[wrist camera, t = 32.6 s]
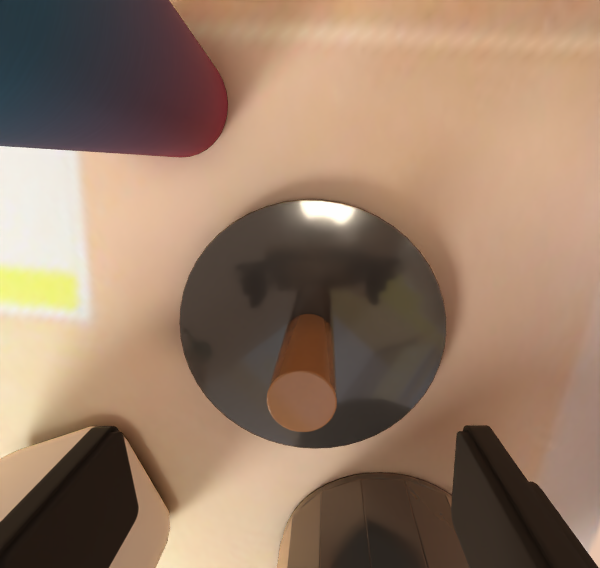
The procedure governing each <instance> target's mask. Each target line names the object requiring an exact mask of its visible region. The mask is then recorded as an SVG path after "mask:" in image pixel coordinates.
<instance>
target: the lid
mask: <svg viewBox="0 0 600 568" xmlns="http://www.w3.org/2000/svg"><path fill="white" fill-rule="evenodd" d="M180 333H181V341H182V346H183V350H184V355H185V357H186V360H187V363H188V366H189V368H190V370H191V372H192V374H193V376H194V378H195V380H196V382H197V384H198V385H199V387H200V388H201V390H202V391H203V393H204V394H205V395H206V397H207V398H208V399H209V400H210V401H211V402H212V403H213V405H214V406H215V407H216V408H217V409H218V410H219V411H221V412H222V413H223V414H224V415H225V416H226V417H227V418H229V419H230V420H231V421H233V422H234V423H236V424H237V425H238V426H240V427H242V428H243V429H245V430H247V431H249V432H251V433H252V434H254V435H257V436H259V437H262V438H264V439H266V440H269V441H272V442H276V443H279V444H283V445H288V446H294V447H300V448H332V447H338V446H344V445H349V444H352V443H356V442H359V441H362V440H365V439H367V438H370V437H372V436H375V435H377V434H379V433H380V432H382V431H384V430H386V429H388V428H389V427H391V426H392V425H394V424H395V423H396V422H398V421H399V420H400V419H402V418H403V417H404V416H405V415H406V414H407V413H408V412H410V411H411V410H412V409H413V408H414V407H415V406H416V404H417V403H418V402H419V401H420V399H421V398H422V397H423V396H424V395H425V393H426V391H427V390H428V388H429V386H430V385H431V383H432V382H433V380H434V377H435V375H436V373H437V370H438V368H439V366H440V362H441V359H442V355H443V352H444V346H445V338H446V314H445V308H444V301H443V297H442V294H441V291H440V288H439V285H438V282H437V280H436V278H435V276H434V274H433V272H432V270H431V268H430V266H429V264H428V263H427V261H426V260H425V259H424V257H423V256H422V254H421V253H420V251H419V250H418V249H417V248H416V247H415V246H414V245H413V244H412V242H411V241H410V240H409V239H408V238H407V237H406V236H404V235H403V234H402V233H401V232H400V231H398V230H397V229H396V228H395V227H394V226H392V225H390V224H389V223H387V222H386V221H384V220H382V219H381V218H379V217H378V216H376V215H374V214H371V213H369V212H367V211H365V210H362V209H360V208H357V207H354V206H351V205H347V204H344V203H340V202H333V201H327V200H305V199H303V200H295V201H286V202H282V203H278V204H274V205H270V206H266V207H264V208H261V209H259V210H256V211H254V212H252V213H249V214H247V215H245V216H244V217H242V218H240V219H239V220H237V221H235V222H233V223H232V224H231V225H229V226H228V227H227V228H226V229H224V230H223V231H222V232H221V233H219V234H218V235H217V236H216V237H215V238H214V239H213V241H212V242H211V243H210V244H209V245H208V246H207V247H206V248H205V250H204V251H203V252H202V254H201V255H200V257H199V258H198V259H197V261H196V263H195V265H194V267H193V269H192V271H191V273H190V275H189V277H188V280H187V283H186V286H185V288H184V292H183V297H182V302H181V307H180Z"/></svg>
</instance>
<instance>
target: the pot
mask: <svg viewBox="0 0 600 568" xmlns="http://www.w3.org/2000/svg"><path fill="white" fill-rule="evenodd" d="M451 504H452V495H450V494H449V493H448V492H446V491H444V490H443V489H441V488H439V487H437V486H435V485H433V484H431V483H428V482H426V481H424V480H421V479H417V478H414V477H410V476H406V475H400V474H393V473H365V474H359V475H353V476H349V477H345V478H341V479H338V480H336V481H333V482H331V483H328V484H326V485H324V486H323V487H321V488H319V489H317V490H316V491H314V492H313V493H312V494H310V495H309V496H307V497H306V498H305V499H304V500H303V501H302V502H301V503H300V504H299V505H298V507H297V508H296V509H295V510H294V512H293V513H292V515H291V517H290V518H289V520H288V522H287V525H286V527H285V530H284V534H283V538H282V541H281V543H280V549H279V556H278V564H277V568H469V565H468V563H467V560H466V557H465V555H464V552H463V550H462V547H461V544H460V542H459V539H458V537H457V534H456V531H455V529H454V526H453V522H452V517H451Z"/></svg>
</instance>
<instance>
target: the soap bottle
mask: <svg viewBox="0 0 600 568" xmlns="http://www.w3.org/2000/svg"><path fill="white" fill-rule="evenodd" d="M93 427H96V426H91V427H88V428H84V429H81V430H78V431H75V432H72V433H69V434H66V435H63V436H60V437H57V438H54V439H51V440H47V441H44V442H41V443H38V444H35V445H32V446H29V447H26V448H23V449H20V450H17V451H15V452H13V453H11V454H9V455H7V456H5V457H3V458H1V459H0V522H1V521H2V520H3V519H4V518H5V517H6V516H7V515H8V513H9V512H10V511H11V510H12V509H13V508H14V507H15V506H16V505H17V504H18V503H19V502H20V501H21V500H22V499H23V498H24V497H25V496H26V495H27V494H28V493H29V492H30V491H31V490H32V489H33V488H34V487H35V486H36V485H37V484H38V483H39V482H40V481H41V480H42V478H43V477H44V476H45V475H46V474H47V473H48V472H49V471H50V470H51V469H52V468H53V467H54V466H55V465H56V464H57V463H58V462H59V461H60V460H61V459H62V458H63V457H64V456H65V455H66V454H67V453H68V452H69V451H70V450H71V449H72V448H73V447H74V446H75V445H76V444H77V442H78V441H79V440H80V439H81V438H82V437H83V436H84V435H85V434H86V433H87V432H88V431H89V430H90V429H91V428H93ZM124 440H125V445H126V450H127V454H128V459H129V463H130V468H131V473H132V477H133V482H134V487H135V491H136V496H137V501H138V506H139V510H138V515H137V519H136V521H135V523H134V524H133V526H132V528H131V530H130V532H129V533H128V535H127V537H126V539H125V540H124V542H123V544H122V546H121V547H120V549H119V551H118V553H117V554H116V556H115V558H114V560H113V562H112V563H111V565H110V567H109V568H156V566H157V564H158V561H159V559H160V557H161V555H162V552H163V550H164V548H165V546H166V544H167V541H168V536H169V531H170V520H169V511H168V509H167V507H166V506H165V504H164V502H163V501H162V499H161V497H160V496H159V494H158V492H157V490H156V489H155V487H154V485H153V484H152V482H151V480H150V478H149V477H148V475H147V473H146V472H145V470H144V468H143V466H142V465H141V463H140V461H139V460H138V458H137V456H136V455H135V453H134V451H133V449H132V448H131V446H130V444H129V443H128V441H127V440H126V438H125V437H124Z"/></svg>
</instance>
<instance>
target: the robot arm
mask: <svg viewBox="0 0 600 568" xmlns="http://www.w3.org/2000/svg"><path fill="white" fill-rule="evenodd" d="M138 510H139V506H138V501H137V496H136V491H135V487H134V482H133V477H132V473H131V468H130V463H129V459H128V454H127V450H126V445H125V440H124V436H123V434H122V432H119V431H118V429H117V428H116V427H114V426H96V427H93V428H91V429H90V430H89V431H88V432H87V433H86V434H85V435H84V436H83V437H82V438H81V439H80V440H79V441H78V442H77V444H76V445H75V446H74V447H73V448H72V449H71V450H70V451H69V452H68V453H67V454H66V455H65V456H64V457H63V458H62V459H61V460H60V461H59V462H58V463H57V464H56V465H55V466H54V467H53V468H52V469H51V470H50V471H49V472H48V473H47V474H46V475H45V476H44V477H43V478H42V480H41V481H40V482H39V483H38V484H37V485H36V486H35V487H34V488H33V489H32V490H31V491H30V492H29V493H28V494H27V495H26V496H25V497H24V498H23V499H22V500H21V501H20V502H19V503H18V504H17V505H16V506H15V507H14V508H13V509H12V510H11V511H10V512H9V513H8V515H7V516H6V517H5V518H4V519H3V520H2V521H1V522H0V568H109V567H110V565H111V563H112V562H113V560H114V558H115V556H116V554H117V553H118V551H119V549H120V547H121V546H122V544H123V542H124V540H125V539H126V537H127V535H128V533H129V532H130V530H131V528H132V526H133V524H134V523H135V521H136V519H137V515H138ZM451 517H452V522H453V526H454V529H455V531H456V534H457V537H458V539H459V542H460V544H461V547H462V550H463V552H464V555H465V557H466V560H467V563H468V565H469V568H598V566H597V565H596V564H595V562H594V561H593V560H592V558H591V557H590V555H589V554H588V553H587V551H586V550H585V548H584V547H583V546H582V544H581V543H580V542H579V540H578V539H577V537H576V536H575V535H574V533H573V532H572V531H571V529H570V528H569V526H568V525H567V524H566V522H565V521H564V520H563V518H562V517H561V515H560V514H559V513H558V511H557V510H556V509H555V507H554V506H553V504H552V503H551V502H550V500H549V499H548V498H547V496H546V495H545V493H544V492H543V491H542V489H541V488H540V487H539V486H538V485H537V484H535V483H534V482H528V481H527V479H526V478H525V476H524V475H523V474H522V472H521V471H520V469H519V468H518V466H517V465H516V464H515V462H514V461H513V459H512V458H511V456H510V455H509V453H508V452H507V451H506V449H505V448H504V446H503V445H502V443H501V442H500V441H499V439H498V438H497V436H496V435H495V433H494V432H493V431H492V429H491V428H490V427H489V426H465V427H464V429H463V431H459V432H458V433H457V438H456V451H455V464H454V478H453V491H452V504H451Z"/></svg>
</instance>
